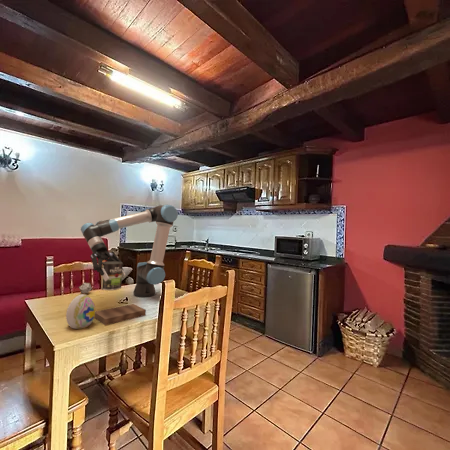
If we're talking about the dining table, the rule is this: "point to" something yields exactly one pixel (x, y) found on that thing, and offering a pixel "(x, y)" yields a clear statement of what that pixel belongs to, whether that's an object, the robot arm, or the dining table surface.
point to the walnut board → (119, 314)
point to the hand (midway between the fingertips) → (115, 277)
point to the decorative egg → (80, 312)
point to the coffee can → (112, 275)
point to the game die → (85, 288)
